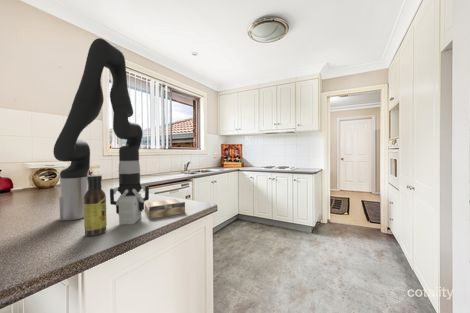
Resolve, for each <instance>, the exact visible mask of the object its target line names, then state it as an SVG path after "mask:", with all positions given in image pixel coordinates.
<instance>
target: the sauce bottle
mask: <svg viewBox="0 0 470 313" xmlns="http://www.w3.org/2000/svg"><path fill="white" fill-rule="evenodd" d="M102 178H103V176H102V174H99V175H98V174H97V175H96V174H95V175H94V174H93V175H88V177H87V180H88V191H87V192H86V194H85V196H84V218H83V219H84V220H83V223H84V234H85V236H86V237H92V236H98V235H101V234H103V233H105V232H106V231H107V196H106V195H107V194H106V192H105V191H104V190H103V189H102Z"/></svg>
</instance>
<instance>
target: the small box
mask: <svg viewBox="0 0 470 313" xmlns="http://www.w3.org/2000/svg"><path fill="white" fill-rule="evenodd" d="M139 194H140V196H141V197H142V193H140V192H139ZM118 199H119V215H118V223H119V224H118V225H123V226H124V225H134V224H135V223H136V222H138V221H139V220H140V219H141V218H142V212H140V200H139V199H138V198H137V196H136V195H134V196H125V197H120V196H119V197H118Z"/></svg>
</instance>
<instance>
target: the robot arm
mask: <svg viewBox="0 0 470 313" xmlns="http://www.w3.org/2000/svg"><path fill="white" fill-rule="evenodd" d="M104 68H106V69H108V70H109V72H110V75H111V77H112V84H111V88H110V91H109V98H110V104H111V108H112V112H113V117H112V118H113V122H112V127H113V128H112V129H113V133H114V135H115V136H116V137H117V138H118V139H120V140H126V143H125V145H122V146H120V147H119V150H118V158H119V159H118V161H119V162H118V187H117V188H113V187H111V188H109V198H110V199H109V202H110V205H111V206H113V205H114V206H115V209H116V211H115V212H116V214H118V216H119V198H118V199H116V200H115V195H116V194H117V192H118V193H119V194H120V195H119V197H125V196H134V195H136V196H137V198H138V199H139V200H140V212H141V213H142V212H143V211H145V203H146V201H149V198H150V196H149V194H150V193H149V192H150V187H149V185H147V184H146V185H141V165H140V148H141V144H142V140H143V129H142V127H141V125H140V124H139V123H137V122H131V121H129V118H131V117H132V116H133V114H134V109H133V105H132V100H131V97H130V94H129V88H128V81H127V80H128V77H127V64H126V59H125V55H124V52H122V50H121V49H120V48H118V47H116V46H115V45H114V44H112V43H110V42H109V41H108V40H106V39H104V38H100V37H99V38H96V39H94V40H93V41H92V43H91V44H90V46H89V49H88V52H87V55H86V61H85V66H84V69H83V73H82V76H81V79H80V82H79V86H78V88H77V91H76V93H75V95H74V98H73V101H72V104H71V108H70V110H69V112H68V116H67V118H66V120H65V123H64V125H63V127H62V129H61V131H60V133H59V135H58V137H57V139H56V141H55V142H54V143H55V144H54V146H53V151H52V152H53V157H54V158H55V159H56V160H57V161H59V162H70V165H69V166H68V167H66V168H65V169H63V170H61V171H60V172H59V184H60V186H59V187H60V196H59V198H58V200H59V201H58V203H59V204H58V205H59V221H75V220H79V219H84V196H85V194H86V192H87V191H88V180H87V177H88V176H89V175H88V174H89V171H90V166H91V165H90V164H91V149H90V145H89V144H88V142H86V141H85V140H83V139H79V137H80V134H81V133H82V132H83V130H85V129H86V128H87V127H89V125H90V124H91V123H92V122H94V121H95V120H96V119H97V118H98V116H99V115H100V113H101V109H102V107H103V105H104V100H105V99H104V91H103V87H102V82H101V81H102V74H103V71H104ZM141 190H142V191H144V197H142V195H141V196H140V194H139V193H140V191H141Z"/></svg>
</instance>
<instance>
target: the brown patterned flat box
mask: <svg viewBox="0 0 470 313" xmlns="http://www.w3.org/2000/svg"><path fill="white" fill-rule="evenodd" d="M144 211H145V213H146V215H147V216H148V218H149V219H156V218H162V217H168V216H173V215H178V214H179V215H180V214H185V213H186V201H182V202H180V200H178V199H176V198H174V199H172V198H171V199H166V200H158V201H150V202H144Z"/></svg>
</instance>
